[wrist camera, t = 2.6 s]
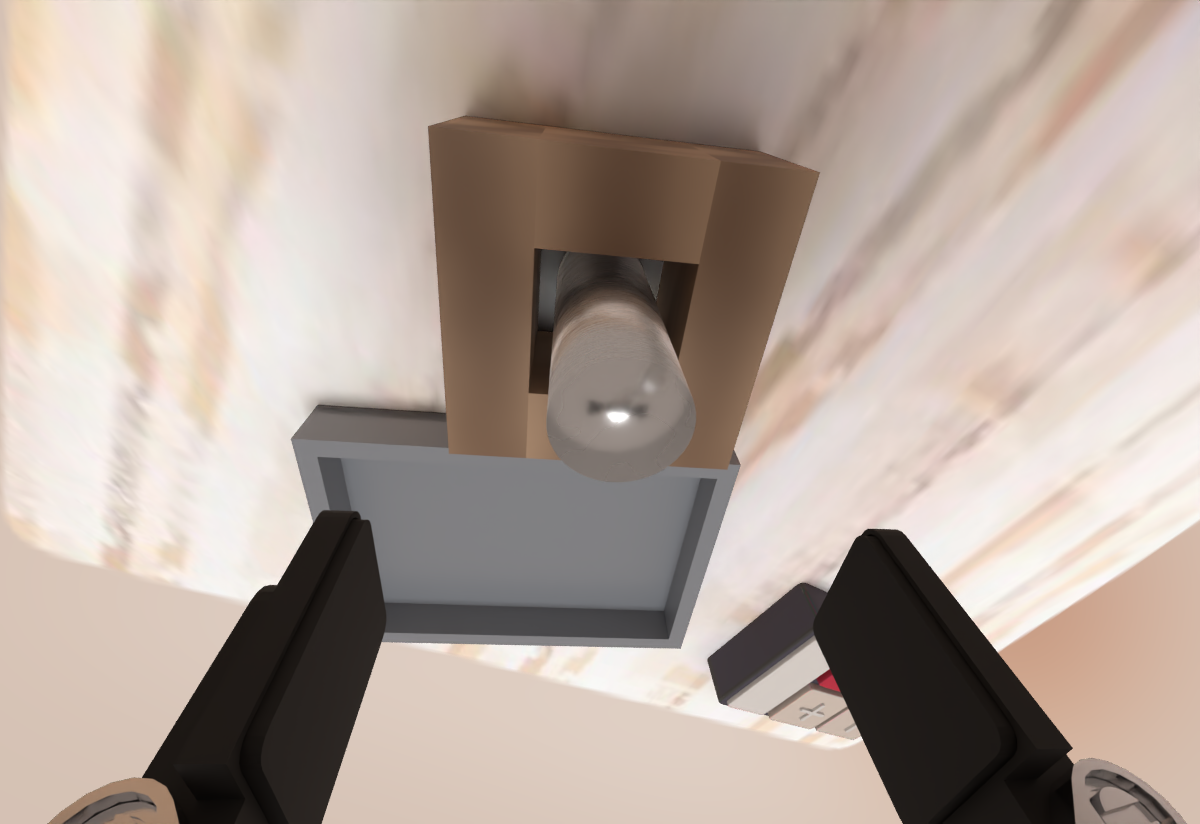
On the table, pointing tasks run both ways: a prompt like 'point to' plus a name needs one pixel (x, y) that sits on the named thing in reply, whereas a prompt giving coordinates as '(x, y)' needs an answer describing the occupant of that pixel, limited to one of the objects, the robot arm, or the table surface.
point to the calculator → (783, 668)
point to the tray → (513, 535)
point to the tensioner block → (607, 227)
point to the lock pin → (614, 374)
